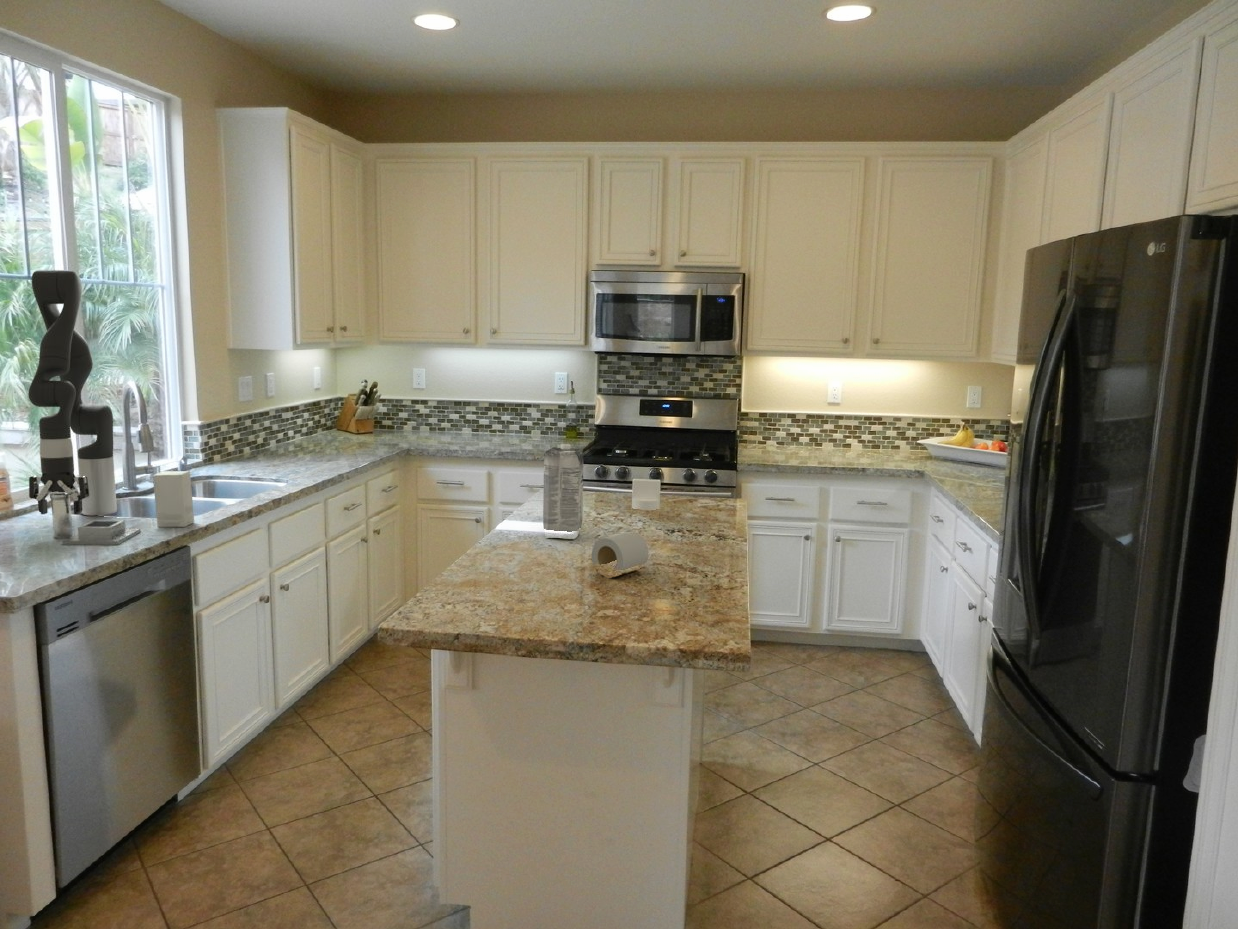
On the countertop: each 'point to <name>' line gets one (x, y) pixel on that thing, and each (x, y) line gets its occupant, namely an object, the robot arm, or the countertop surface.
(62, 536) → the pale grey upright block
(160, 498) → the skincare box
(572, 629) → the countertop surface
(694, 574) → the countertop surface
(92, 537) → the duct plate
